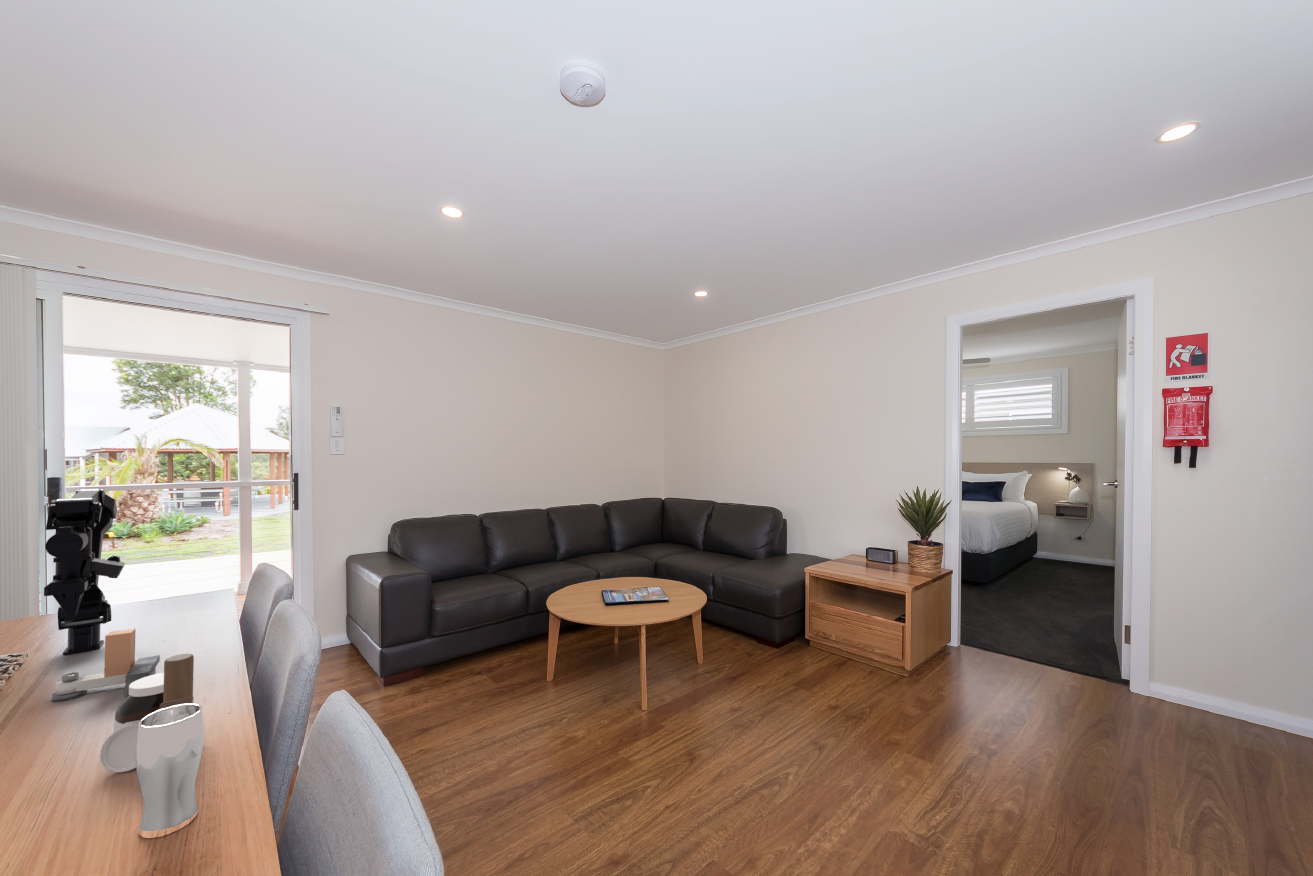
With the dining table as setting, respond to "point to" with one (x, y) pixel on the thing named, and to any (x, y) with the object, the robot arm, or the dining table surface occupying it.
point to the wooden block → (178, 680)
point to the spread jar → (131, 722)
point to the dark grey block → (141, 670)
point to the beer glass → (169, 764)
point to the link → (107, 664)
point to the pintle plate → (69, 696)
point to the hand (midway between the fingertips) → (72, 616)
